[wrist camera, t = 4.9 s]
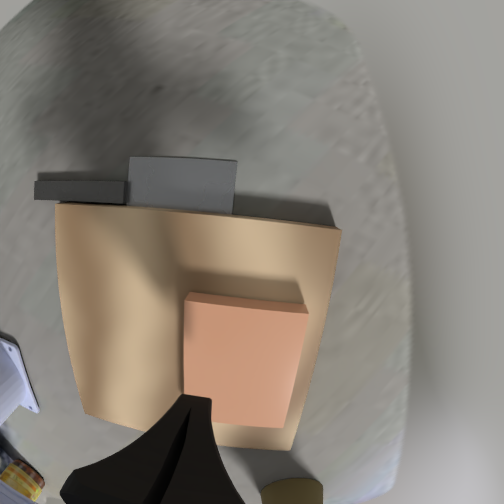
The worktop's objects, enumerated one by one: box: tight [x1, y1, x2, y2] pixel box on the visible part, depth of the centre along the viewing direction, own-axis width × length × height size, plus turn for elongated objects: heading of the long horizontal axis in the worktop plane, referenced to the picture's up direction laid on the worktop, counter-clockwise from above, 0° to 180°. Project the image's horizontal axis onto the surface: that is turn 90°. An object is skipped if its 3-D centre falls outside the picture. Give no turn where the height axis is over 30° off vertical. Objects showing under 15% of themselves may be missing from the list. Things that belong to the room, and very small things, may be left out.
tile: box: [184, 292, 309, 428], centre depth 16 cm, size 1×8×6 cm
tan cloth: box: [55, 202, 342, 450], centre depth 17 cm, size 16×16×1 cm
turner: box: [34, 157, 237, 215], centre depth 15 cm, size 13×4×1 cm, turn 84°
